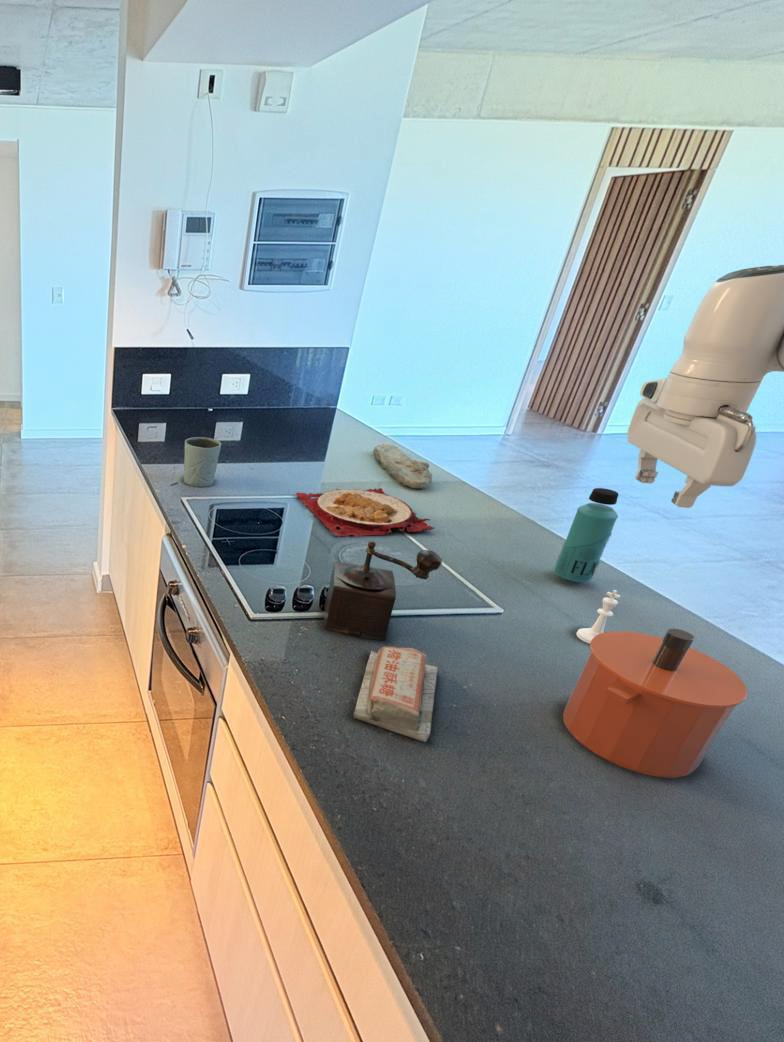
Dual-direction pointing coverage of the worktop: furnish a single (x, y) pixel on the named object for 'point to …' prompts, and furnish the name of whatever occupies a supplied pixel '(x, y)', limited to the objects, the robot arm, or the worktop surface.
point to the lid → (668, 668)
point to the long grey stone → (403, 467)
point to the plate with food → (362, 512)
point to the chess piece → (599, 619)
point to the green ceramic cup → (200, 461)
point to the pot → (639, 725)
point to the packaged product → (398, 692)
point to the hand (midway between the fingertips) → (661, 493)
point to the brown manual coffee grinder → (368, 594)
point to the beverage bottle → (587, 537)
